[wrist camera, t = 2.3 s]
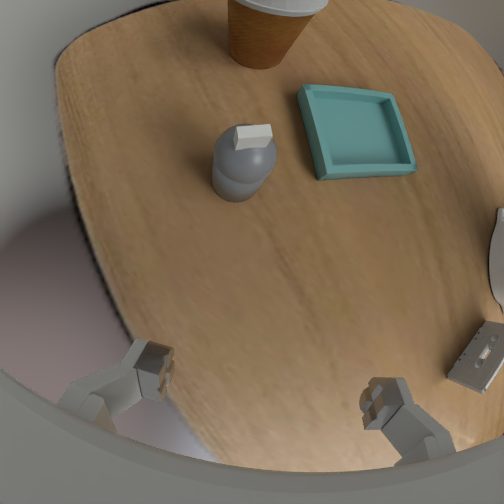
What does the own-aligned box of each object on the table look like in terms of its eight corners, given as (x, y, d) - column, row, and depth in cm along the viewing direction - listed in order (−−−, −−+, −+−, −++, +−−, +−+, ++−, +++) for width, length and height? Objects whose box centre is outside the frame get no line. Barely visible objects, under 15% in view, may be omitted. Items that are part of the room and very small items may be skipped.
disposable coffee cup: (289, 89, 26) (331, 16, 14) (204, 69, 25) (209, -14, 13) (300, 39, 27) (334, -26, 15) (227, 20, 25) (240, -50, 13)
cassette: (485, 317, 31) (520, 324, 24) (486, 325, 31) (521, 332, 24) (445, 373, 29) (481, 389, 22) (447, 380, 30) (482, 396, 22)
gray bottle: (254, 154, 25) (283, 99, 15) (262, 199, 25) (298, 162, 15) (208, 160, 25) (211, 103, 14) (215, 205, 25) (221, 170, 15)
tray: (382, 102, 28) (392, 93, 26) (405, 175, 28) (417, 170, 26) (296, 95, 26) (303, 84, 24) (317, 180, 26) (327, 173, 24)
